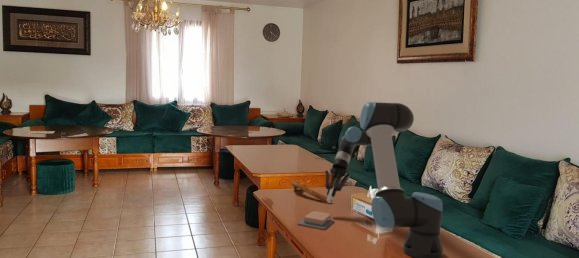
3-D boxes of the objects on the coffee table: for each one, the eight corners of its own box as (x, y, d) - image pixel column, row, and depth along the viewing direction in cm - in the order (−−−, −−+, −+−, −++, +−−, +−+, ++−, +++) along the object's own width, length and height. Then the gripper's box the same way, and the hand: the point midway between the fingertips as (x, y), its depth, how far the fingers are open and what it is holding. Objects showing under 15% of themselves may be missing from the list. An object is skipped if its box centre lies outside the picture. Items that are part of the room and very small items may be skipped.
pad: (334, 221, 217) (334, 220, 217) (324, 229, 206) (324, 228, 206) (308, 216, 223) (308, 215, 223) (297, 224, 211) (297, 223, 211)
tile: (331, 214, 219) (322, 220, 209) (330, 219, 219) (322, 225, 209) (313, 210, 222) (304, 216, 212) (312, 215, 223) (303, 222, 213)
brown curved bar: (334, 203, 250) (328, 188, 246) (322, 212, 247) (315, 196, 243) (304, 186, 278) (298, 172, 275) (292, 194, 276) (286, 180, 272)
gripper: (354, 168, 241) (342, 207, 228) (330, 164, 246) (317, 203, 233) (352, 159, 236) (340, 199, 223) (328, 156, 241) (314, 195, 228)
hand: (328, 201), depth 228 cm, fingers closed
